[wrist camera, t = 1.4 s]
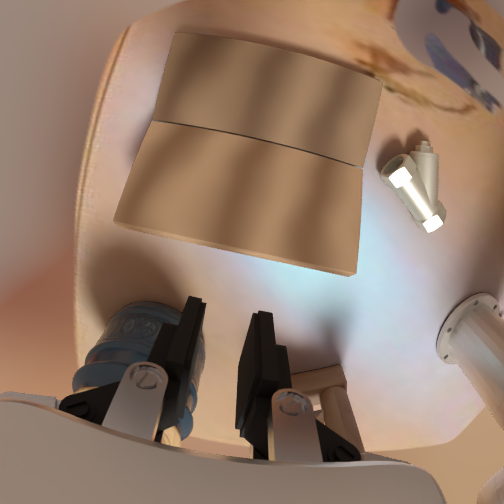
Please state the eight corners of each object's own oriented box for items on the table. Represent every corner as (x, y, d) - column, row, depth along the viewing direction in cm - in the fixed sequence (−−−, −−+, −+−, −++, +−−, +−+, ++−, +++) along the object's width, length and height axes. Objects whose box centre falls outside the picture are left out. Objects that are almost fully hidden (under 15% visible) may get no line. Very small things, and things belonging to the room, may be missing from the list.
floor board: (376, 84, 24) (383, 82, 23) (357, 166, 27) (362, 167, 26) (179, 37, 23) (175, 32, 21) (157, 120, 26) (152, 119, 24)
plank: (355, 176, 27) (362, 169, 26) (348, 276, 25) (356, 273, 23) (154, 130, 26) (151, 120, 24) (118, 226, 23) (113, 220, 22)
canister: (108, 288, 33) (30, 389, 16) (212, 310, 34) (187, 439, 17) (114, 365, 37) (68, 462, 21) (202, 385, 38) (183, 497, 22)
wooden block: (261, 378, 38) (266, 498, 21) (340, 362, 37) (377, 476, 20) (266, 395, 39) (272, 508, 22) (341, 380, 38) (373, 488, 21)
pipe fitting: (411, 134, 27) (374, 174, 28) (431, 132, 23) (392, 177, 25) (447, 187, 29) (414, 226, 30) (468, 192, 25) (434, 235, 26)
